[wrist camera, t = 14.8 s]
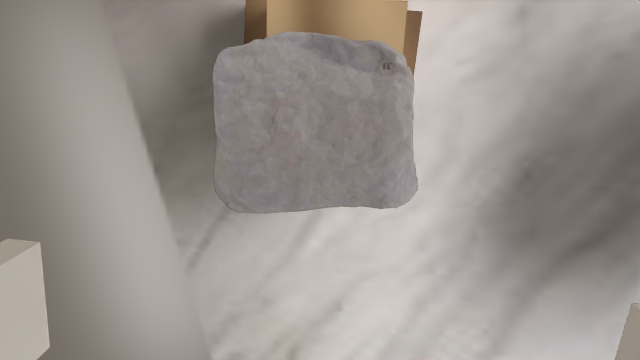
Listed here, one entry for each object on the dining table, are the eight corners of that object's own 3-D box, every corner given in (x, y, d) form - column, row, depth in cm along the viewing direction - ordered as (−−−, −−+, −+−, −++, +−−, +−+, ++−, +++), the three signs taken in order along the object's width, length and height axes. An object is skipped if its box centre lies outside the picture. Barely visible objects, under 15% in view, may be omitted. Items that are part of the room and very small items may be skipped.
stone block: (216, 52, 28) (228, 209, 28) (193, 31, 23) (207, 221, 24) (405, 40, 27) (412, 199, 28) (422, 16, 23) (430, 209, 23)
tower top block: (396, 10, 30) (407, 0, 25) (383, 155, 32) (392, 172, 28) (278, 5, 30) (267, -6, 25) (275, 149, 33) (264, 165, 28)
